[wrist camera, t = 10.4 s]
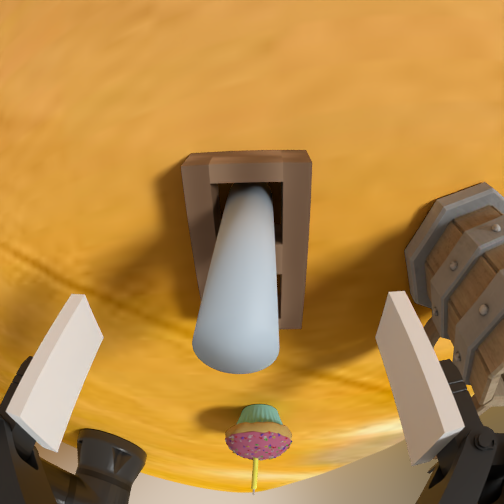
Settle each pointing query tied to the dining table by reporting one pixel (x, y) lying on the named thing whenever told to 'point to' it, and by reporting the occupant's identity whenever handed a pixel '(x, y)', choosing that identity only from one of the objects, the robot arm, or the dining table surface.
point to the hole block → (286, 234)
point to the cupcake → (258, 436)
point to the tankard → (464, 285)
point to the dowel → (241, 287)
